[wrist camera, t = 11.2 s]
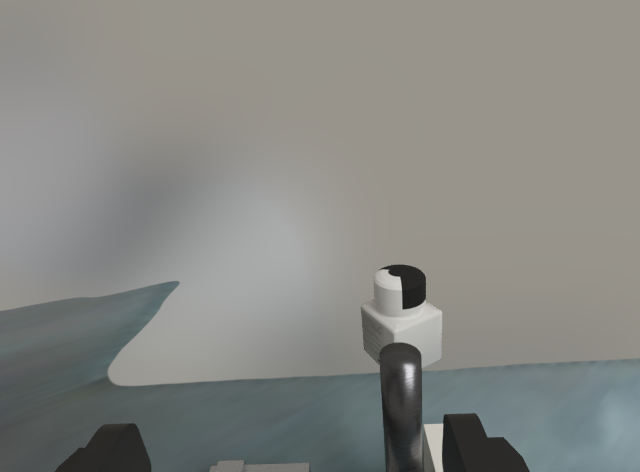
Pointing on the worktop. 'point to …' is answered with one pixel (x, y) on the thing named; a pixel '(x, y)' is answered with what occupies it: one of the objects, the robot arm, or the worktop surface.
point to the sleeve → (259, 467)
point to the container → (402, 314)
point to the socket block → (433, 447)
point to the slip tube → (402, 406)
